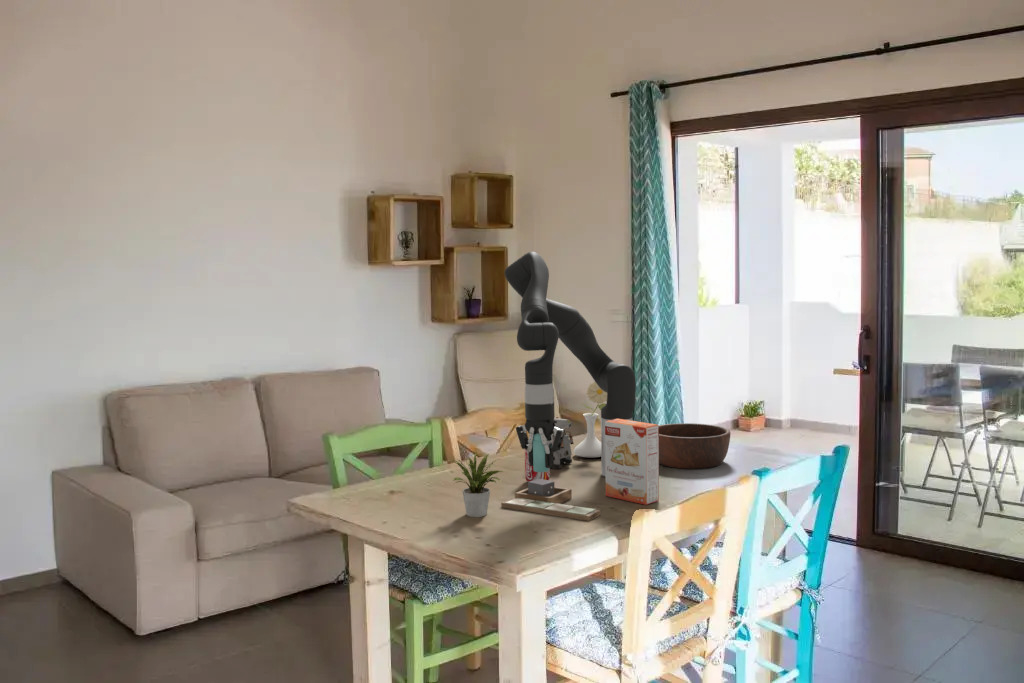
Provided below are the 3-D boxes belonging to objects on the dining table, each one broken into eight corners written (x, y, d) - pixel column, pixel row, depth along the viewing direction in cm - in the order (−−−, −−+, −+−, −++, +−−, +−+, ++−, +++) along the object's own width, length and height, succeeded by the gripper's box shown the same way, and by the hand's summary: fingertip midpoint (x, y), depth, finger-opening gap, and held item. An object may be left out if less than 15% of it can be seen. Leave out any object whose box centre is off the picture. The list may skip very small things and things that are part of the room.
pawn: (538, 467, 255) (537, 429, 254) (551, 469, 253) (550, 430, 252) (530, 471, 251) (529, 432, 250) (544, 472, 249) (542, 433, 248)
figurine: (543, 460, 311) (543, 414, 309) (576, 464, 305) (575, 416, 304) (530, 466, 303) (529, 418, 302) (563, 470, 297) (562, 421, 296)
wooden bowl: (739, 458, 310) (739, 426, 309) (717, 474, 288) (717, 440, 287) (663, 451, 322) (663, 420, 321) (637, 467, 300) (637, 434, 299)
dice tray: (536, 493, 270) (536, 484, 270) (571, 498, 264) (571, 489, 264) (515, 502, 261) (515, 493, 261) (550, 507, 255) (550, 498, 255)
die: (539, 478, 264) (527, 481, 260) (554, 481, 261) (542, 485, 257) (539, 497, 265) (527, 500, 261) (554, 500, 261) (542, 504, 257)
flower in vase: (568, 458, 313) (567, 381, 310) (580, 451, 323) (579, 376, 321) (607, 461, 308) (607, 382, 305) (618, 454, 318) (617, 378, 316)
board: (513, 502, 261) (513, 496, 261) (600, 515, 247) (600, 509, 247) (501, 507, 256) (501, 502, 256) (589, 520, 242) (588, 515, 242)
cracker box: (604, 496, 265) (603, 420, 263) (618, 492, 269) (617, 417, 267) (645, 506, 255) (645, 426, 253) (659, 501, 259) (659, 423, 257)
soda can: (547, 485, 279) (546, 444, 277) (523, 484, 280) (522, 443, 279) (551, 479, 285) (550, 439, 284) (527, 478, 287) (527, 438, 286)
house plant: (456, 525, 240) (454, 460, 238) (437, 512, 252) (435, 449, 251) (509, 518, 245) (508, 454, 244) (488, 505, 258) (487, 444, 256)
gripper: (508, 401, 251) (510, 466, 253) (556, 404, 243) (558, 472, 245) (523, 396, 257) (525, 461, 259) (570, 400, 250) (572, 466, 251)
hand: (541, 466), depth 252 cm, fingers closed on pawn, 4 cm apart
